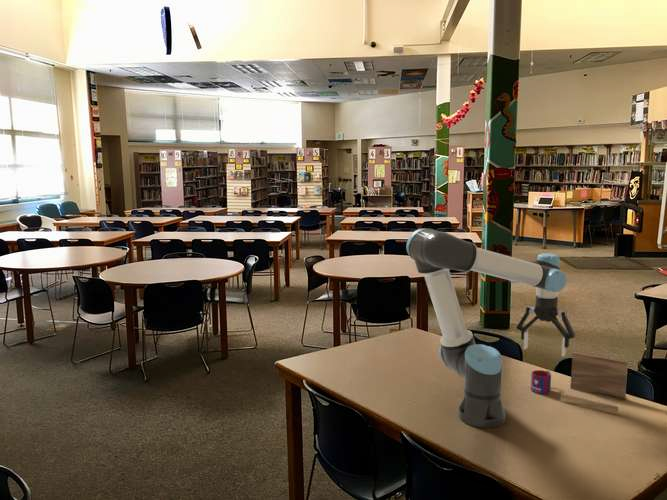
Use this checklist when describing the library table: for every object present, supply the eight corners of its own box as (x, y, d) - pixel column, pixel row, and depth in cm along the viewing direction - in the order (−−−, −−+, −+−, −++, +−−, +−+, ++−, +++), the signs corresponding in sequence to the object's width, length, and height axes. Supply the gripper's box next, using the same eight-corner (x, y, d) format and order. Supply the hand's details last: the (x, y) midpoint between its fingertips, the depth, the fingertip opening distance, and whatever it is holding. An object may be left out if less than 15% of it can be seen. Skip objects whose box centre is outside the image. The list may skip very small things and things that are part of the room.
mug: (527, 390, 195) (528, 372, 194) (542, 383, 201) (542, 366, 200) (543, 396, 190) (544, 378, 189) (558, 389, 196) (559, 371, 195)
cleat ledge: (617, 414, 175) (617, 407, 174) (560, 401, 186) (561, 394, 185) (617, 413, 176) (618, 406, 175) (561, 400, 186) (561, 393, 186)
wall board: (624, 400, 186) (627, 362, 184) (570, 388, 197) (572, 352, 195) (625, 397, 188) (628, 360, 186) (572, 385, 199) (574, 350, 197)
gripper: (586, 298, 186) (582, 355, 190) (515, 290, 201) (513, 342, 204) (581, 302, 180) (577, 361, 184) (509, 293, 195) (507, 348, 198)
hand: (544, 351), depth 194 cm, fingers open, 13 cm apart
